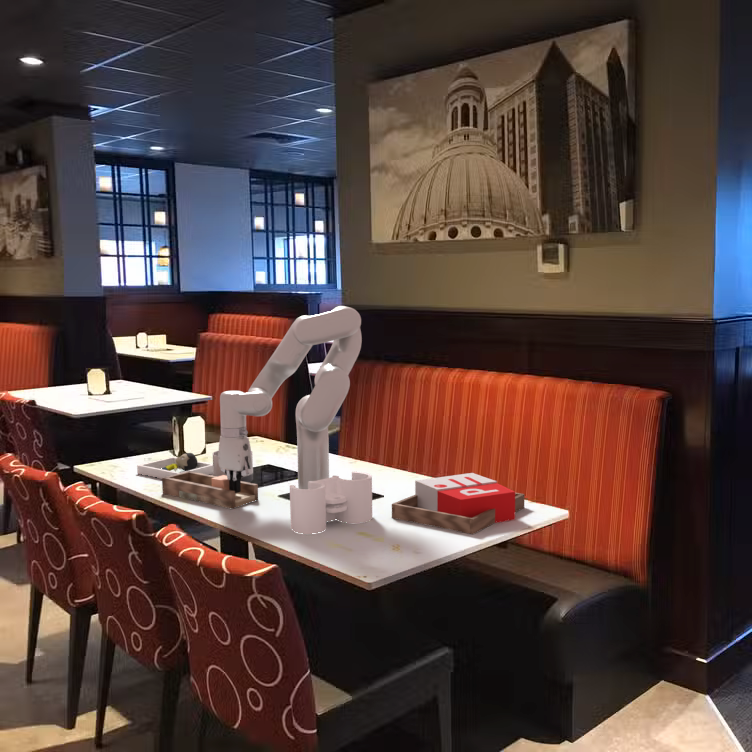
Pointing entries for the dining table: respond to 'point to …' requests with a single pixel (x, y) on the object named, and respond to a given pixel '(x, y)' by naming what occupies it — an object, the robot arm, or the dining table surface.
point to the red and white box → (466, 496)
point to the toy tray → (156, 471)
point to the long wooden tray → (207, 490)
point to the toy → (183, 463)
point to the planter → (218, 472)
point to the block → (220, 482)
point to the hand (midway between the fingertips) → (235, 492)
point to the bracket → (331, 502)
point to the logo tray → (447, 516)
